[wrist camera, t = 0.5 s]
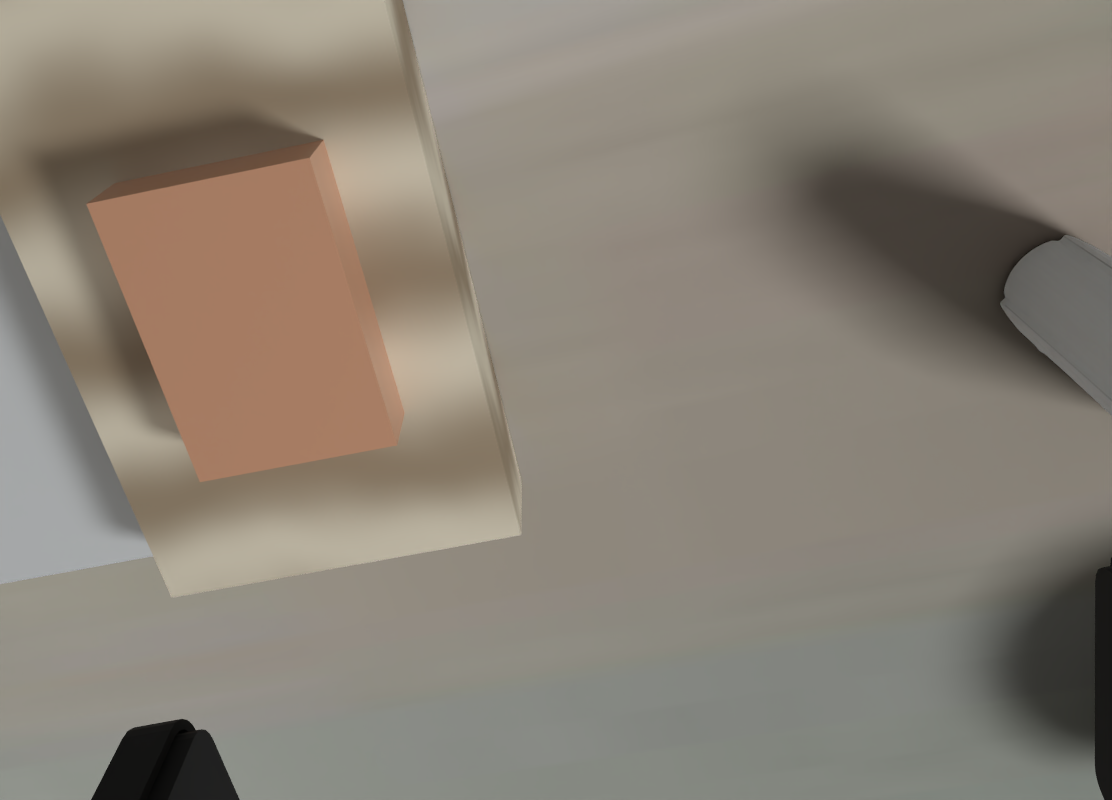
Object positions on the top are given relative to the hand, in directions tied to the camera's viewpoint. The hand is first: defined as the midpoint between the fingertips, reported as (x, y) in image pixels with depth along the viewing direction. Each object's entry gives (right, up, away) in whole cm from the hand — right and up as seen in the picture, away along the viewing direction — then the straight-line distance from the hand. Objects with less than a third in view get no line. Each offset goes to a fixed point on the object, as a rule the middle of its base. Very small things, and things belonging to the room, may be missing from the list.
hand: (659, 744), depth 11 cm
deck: (-12, +9, +29) cm, 32 cm away
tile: (-11, +6, +24) cm, 27 cm away
